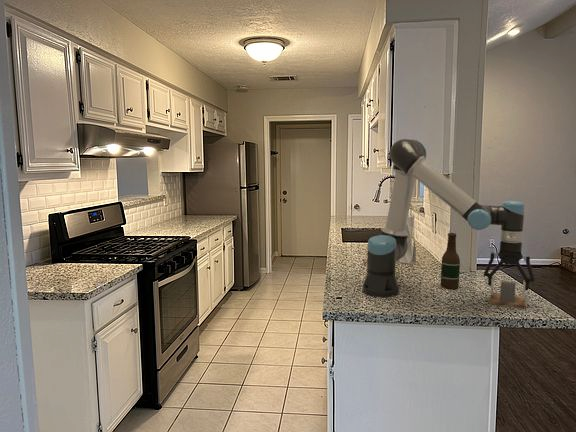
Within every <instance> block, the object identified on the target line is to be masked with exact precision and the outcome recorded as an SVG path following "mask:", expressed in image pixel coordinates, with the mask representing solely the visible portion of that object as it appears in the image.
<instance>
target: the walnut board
mask: <svg viewBox="0 0 576 432" xmlns="http://www.w3.org/2000/svg"><path fill="white" fill-rule="evenodd" d="M488 303H489V305H497V306H504V307H510V308H517V309H525V298H524V299H522V295H515V298H514V303H513V302H506V301H500V293H498V292H494V291H493V295H491V294H490V296H489V302H488Z"/></svg>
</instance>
